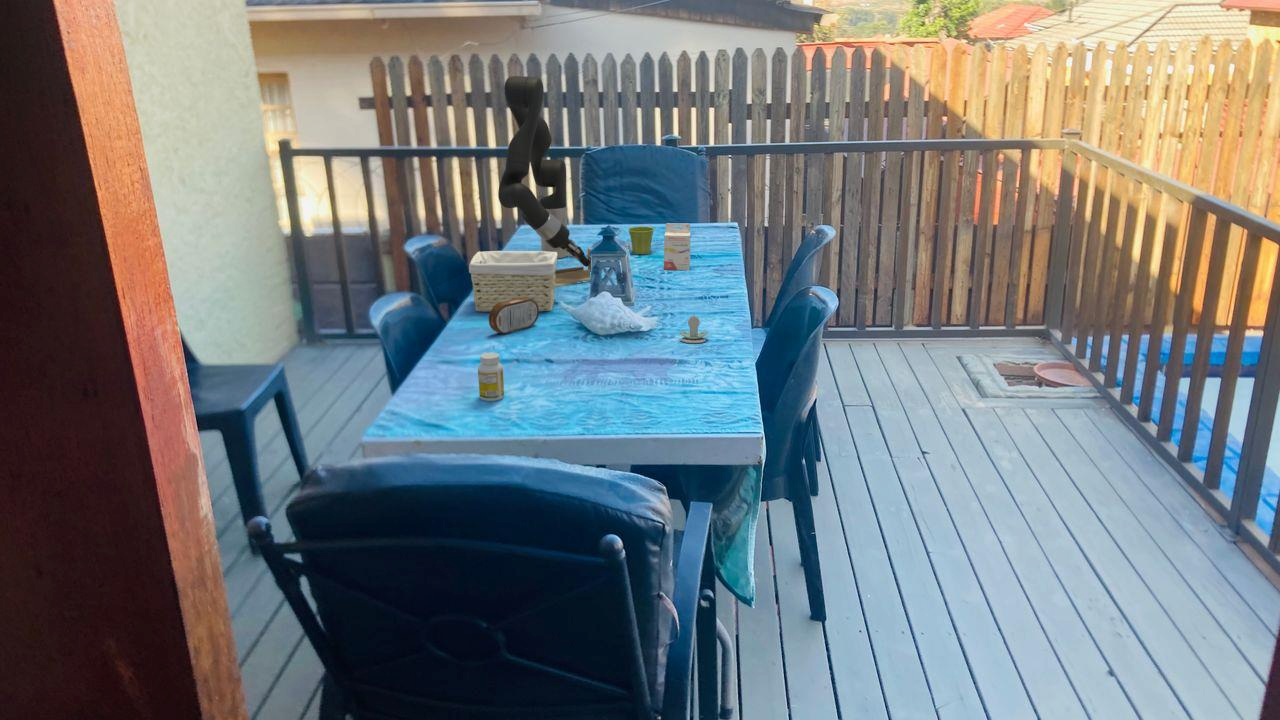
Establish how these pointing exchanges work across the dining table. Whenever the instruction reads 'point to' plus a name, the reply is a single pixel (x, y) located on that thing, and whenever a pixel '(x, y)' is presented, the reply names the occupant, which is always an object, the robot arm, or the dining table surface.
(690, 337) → the pacifier
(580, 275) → the holder
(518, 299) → the tin
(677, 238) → the ink cartridge box
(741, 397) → the dining table surface
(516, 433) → the dining table surface
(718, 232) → the dining table surface
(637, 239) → the plant pot
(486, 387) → the supplement bottle
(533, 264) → the storage basket
